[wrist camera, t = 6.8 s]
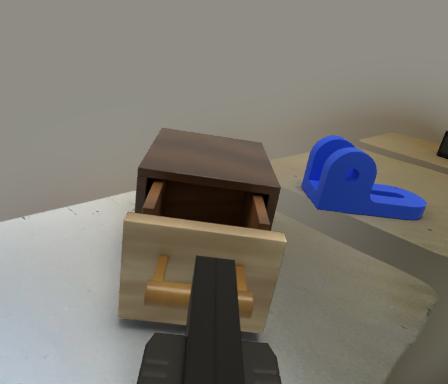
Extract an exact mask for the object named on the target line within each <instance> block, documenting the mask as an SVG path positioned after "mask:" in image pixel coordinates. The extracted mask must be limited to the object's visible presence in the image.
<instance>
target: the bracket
mask: <svg viewBox="0 0 448 384" xmlns="http://www.w3.org/2000/svg"><path fill="white" fill-rule="evenodd" d="M376 174H377V169H376V164H375V162H374V160H373V159H372V158H371V157H370V156H369V155H367V154H366V153H364V152H363V151H361V150H360V149H357V148H355V147H354V146H353V145H352V144H351V143H350V142H348V141H347V140H345V139H344V138H342V137H339V136H328V137H325V138H323V139H321V140H320V141H318V142H317V143H316V144H315V145H314V147H313V148H312V150H311V152H310V155H309V159H308V163H307V167H306V171H305V175H304V178H303V182H302V186H301V187H302V188H303V190H304V191H305V193H306V194H307V196H308V197H309V198H310V200H311V201H312V203H313V204H314V205H315V207H316V208H317V209H319V210H327V211H335V212H344V213H353V214H362V215H371V216H379V217H388V218H397V219H406V220H417V219H420V218H421V217H422V214H423V212H424V209H425V207H426V202H425V200H424V199H422V198H421V197H419V196H418V195H416V194H414V193H411V192H409V191H406V190H403V189H400V188H397V187H393V186H388V185H380V184H374V181H375V178H376Z"/></svg>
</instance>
